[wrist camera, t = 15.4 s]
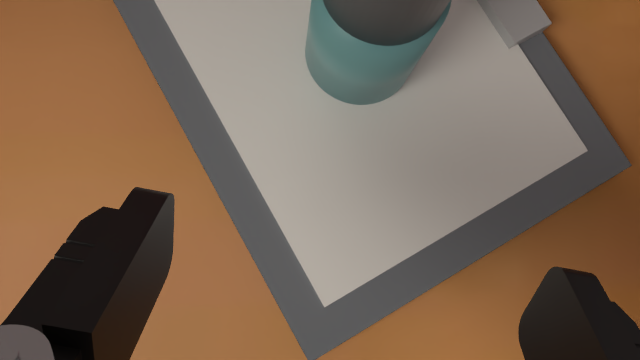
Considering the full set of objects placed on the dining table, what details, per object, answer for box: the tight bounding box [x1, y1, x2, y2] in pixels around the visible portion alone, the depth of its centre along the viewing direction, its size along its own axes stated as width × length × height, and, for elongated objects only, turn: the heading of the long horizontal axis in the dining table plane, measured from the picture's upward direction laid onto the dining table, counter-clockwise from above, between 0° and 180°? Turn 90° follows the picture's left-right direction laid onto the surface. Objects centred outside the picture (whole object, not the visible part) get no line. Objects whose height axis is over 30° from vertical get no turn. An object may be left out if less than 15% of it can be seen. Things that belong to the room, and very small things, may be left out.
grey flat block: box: [113, 0, 632, 360], centre depth 22 cm, size 20×16×2 cm
